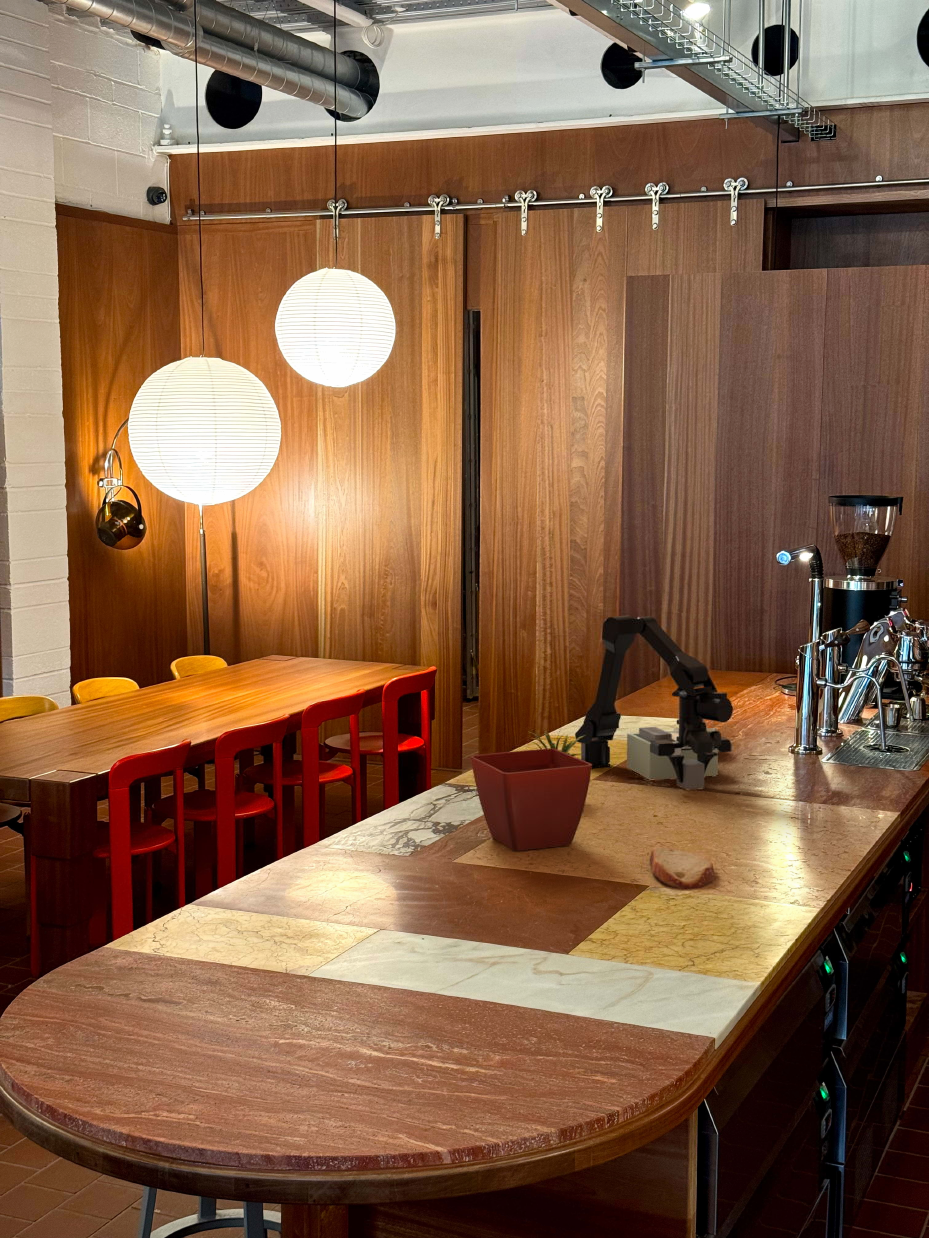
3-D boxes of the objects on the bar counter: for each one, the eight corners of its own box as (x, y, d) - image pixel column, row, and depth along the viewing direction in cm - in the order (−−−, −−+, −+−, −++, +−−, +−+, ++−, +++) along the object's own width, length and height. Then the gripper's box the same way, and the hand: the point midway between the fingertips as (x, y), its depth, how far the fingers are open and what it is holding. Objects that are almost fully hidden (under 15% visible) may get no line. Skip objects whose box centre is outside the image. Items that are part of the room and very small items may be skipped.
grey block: (686, 790, 317) (686, 765, 316) (676, 785, 322) (677, 760, 321) (704, 788, 318) (704, 763, 317) (694, 783, 323) (694, 759, 323)
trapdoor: (656, 753, 328) (656, 735, 327) (637, 744, 339) (637, 727, 339) (715, 749, 332) (715, 732, 331) (695, 740, 343) (695, 723, 343)
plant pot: (469, 834, 279) (468, 754, 277) (554, 825, 286) (553, 747, 284) (504, 858, 261) (504, 773, 260) (593, 848, 268) (594, 764, 266)
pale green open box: (650, 781, 326) (650, 743, 325) (626, 768, 341) (626, 731, 340) (718, 776, 331) (719, 738, 330) (691, 763, 346) (692, 727, 345)
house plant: (509, 800, 308) (509, 730, 306) (535, 788, 320) (535, 720, 318) (567, 807, 301) (567, 735, 299) (591, 794, 313) (591, 725, 311)
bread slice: (661, 854, 265) (661, 835, 264) (743, 871, 253) (743, 852, 252) (607, 875, 251) (607, 855, 251) (690, 894, 239) (691, 873, 239)
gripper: (668, 724, 308) (667, 792, 310) (743, 720, 313) (742, 786, 315) (649, 716, 319) (648, 781, 320) (721, 712, 324) (720, 776, 325)
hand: (690, 781), depth 320 cm, fingers closed on grey block, 4 cm apart
